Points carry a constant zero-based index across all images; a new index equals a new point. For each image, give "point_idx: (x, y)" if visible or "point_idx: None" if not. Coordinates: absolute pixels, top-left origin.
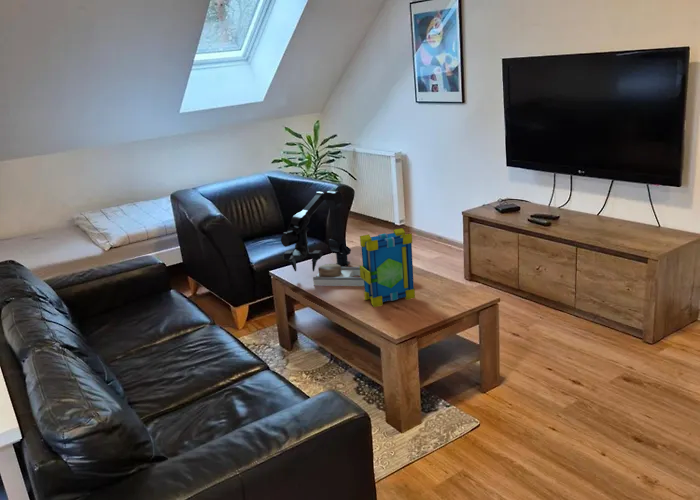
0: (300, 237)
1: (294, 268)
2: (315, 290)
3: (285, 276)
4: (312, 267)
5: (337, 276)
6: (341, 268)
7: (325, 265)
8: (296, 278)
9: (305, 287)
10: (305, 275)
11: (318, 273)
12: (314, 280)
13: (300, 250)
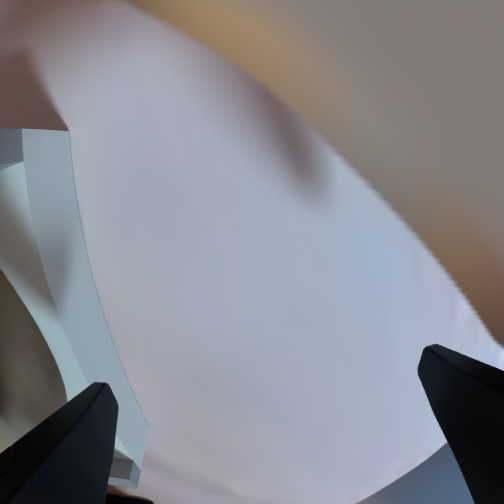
0: None
1: (469, 366)
2: (29, 24)
3: (465, 342)
4: (65, 430)
5: None
6: None
7: None
8: (377, 326)
9: (153, 50)
10: (302, 404)
11: (82, 381)
12: (14, 133)
13: None
